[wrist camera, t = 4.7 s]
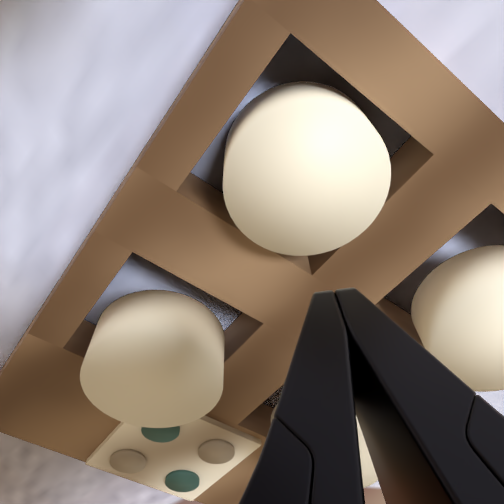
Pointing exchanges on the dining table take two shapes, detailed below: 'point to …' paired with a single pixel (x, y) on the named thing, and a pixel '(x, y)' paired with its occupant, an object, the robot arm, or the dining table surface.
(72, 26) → the dining table surface
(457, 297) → the button
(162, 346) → the button
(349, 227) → the button
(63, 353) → the board
